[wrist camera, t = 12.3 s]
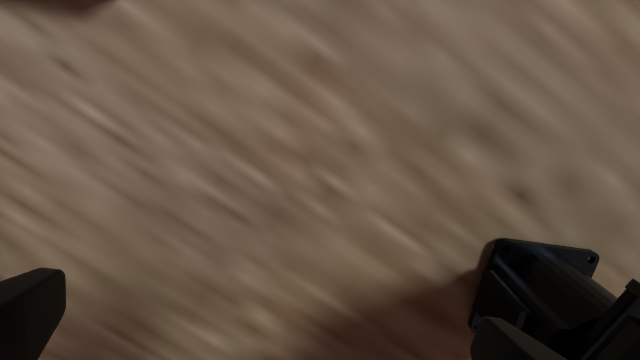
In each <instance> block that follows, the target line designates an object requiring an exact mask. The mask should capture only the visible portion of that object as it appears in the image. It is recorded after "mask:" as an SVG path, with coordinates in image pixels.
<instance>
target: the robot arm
mask: <svg viewBox="0 0 640 360" xmlns="http://www.w3.org/2000/svg"><path fill="white" fill-rule="evenodd" d="M505 245H507V247H506V248H505V249H502V248H503V246H505ZM589 257H590V259H589V260H588V258H589ZM598 262H599V255H598V254H597V253H595V252H594V251H592V250H589V249H581V248H574V247H566V246H559V245H552V244H544V243H537V242H530V241H522V240H515V239H508V238H502V239H499V240H498V241H497V242H496V243H495V245H494V248H493V251H492V254H491V257H490V260H489V263H488V266H487V269H486V271H485V272H484V274H483V277H482V280H481V283H480V286H479V289H478V292H477V295H476V298H475V301H474V304H473V310H472V313H471V316H470V319H469V322H468V326H469V328H470V329H471V331H472V332H473V333H475V335H474V338H473V341H472V343H471V348H470V353H471V358H472V360H640V282H638V281H636V280H635V279H632V280H631V281H630V282H629V283H628V284H627V285H626V286H625V288H626V290H625V291H624V292H623V293H622V294H621V296H620V297H619V298H617V297H615V296H614V295H613V294H612V293H610V292H609V291H608V290H606V289H605V288H604V287H602V286H601V285H600V284H598V283H597V282H596V281H594V280H593V279H592V276H593V273H594V271H595V269H596V267H597V264H598ZM65 308H66V281H65V274H64V272H63V271H62V270H60V269H51V268H38V269H35V270H32V271H29V272H26V273H23V274H20V275H18V276H15V277H12V278H9V279H6V280H3V281H0V360H38V358H39V356H40V355H41V353H42V351H43V350H44V348H45V346H46V344H47V343H48V341H49V339H50V338H51V336H52V334H53V332H54V331H55V329H56V327H57V326H58V324H59V322H60V320H61V319H62V317H63V315H64V312H65ZM477 324H478V325H477ZM475 325H477V326H475Z"/></svg>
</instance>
